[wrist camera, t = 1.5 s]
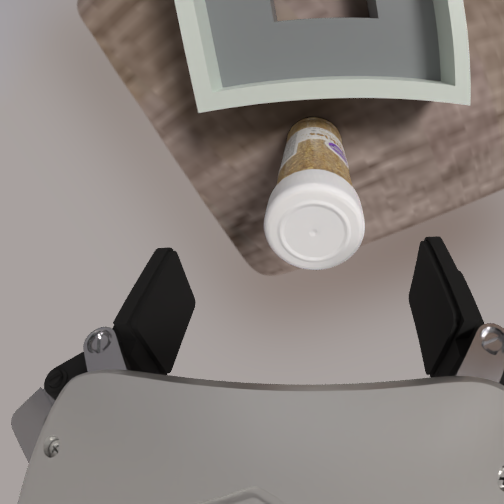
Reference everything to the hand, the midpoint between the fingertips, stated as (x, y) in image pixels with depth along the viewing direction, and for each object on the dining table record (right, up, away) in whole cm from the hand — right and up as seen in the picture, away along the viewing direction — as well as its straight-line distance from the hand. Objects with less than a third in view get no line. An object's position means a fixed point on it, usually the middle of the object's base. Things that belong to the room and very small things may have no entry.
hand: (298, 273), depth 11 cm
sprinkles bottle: (+3, +10, +12) cm, 16 cm away
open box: (+3, +20, +4) cm, 21 cm away
